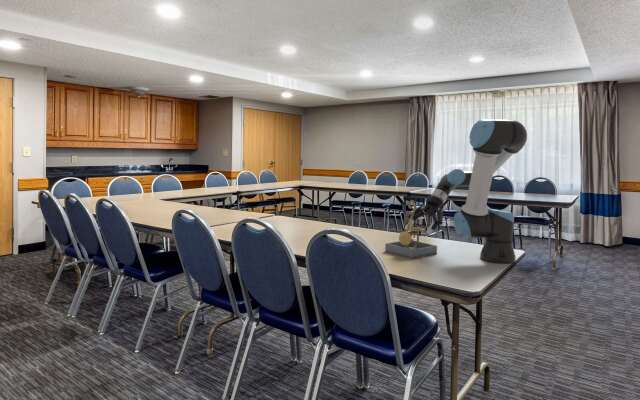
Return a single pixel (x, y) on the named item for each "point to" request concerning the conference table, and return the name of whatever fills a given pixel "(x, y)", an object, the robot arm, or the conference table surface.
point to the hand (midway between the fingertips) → (416, 232)
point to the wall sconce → (405, 236)
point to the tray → (419, 251)
